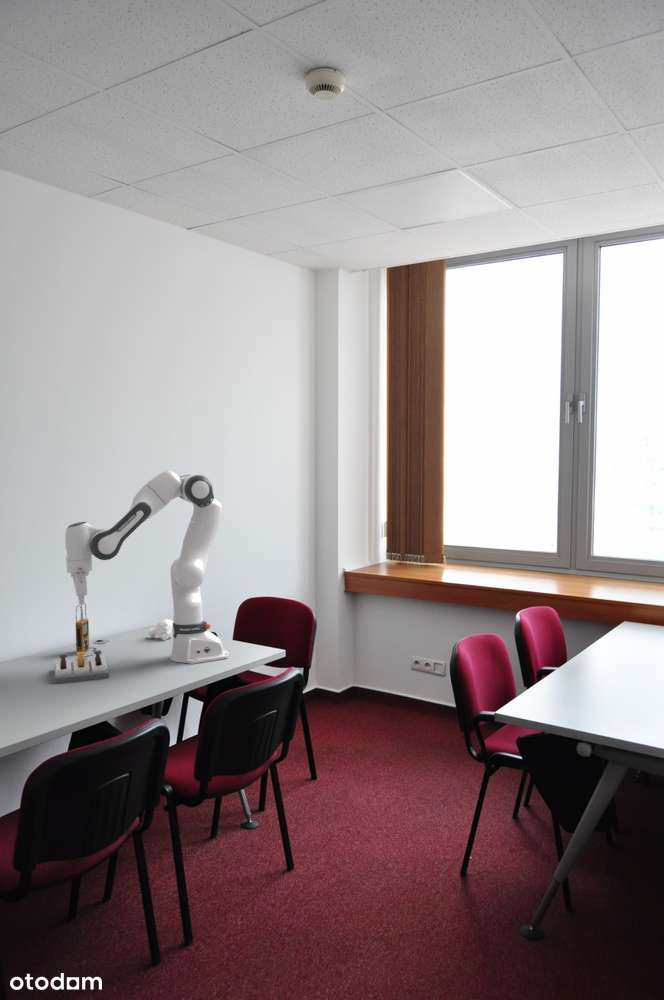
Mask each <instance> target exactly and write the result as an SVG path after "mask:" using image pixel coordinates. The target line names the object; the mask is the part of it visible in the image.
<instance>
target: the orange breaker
mask: <svg viewBox="0 0 664 1000" xmlns="http://www.w3.org/2000/svg"><path fill="white" fill-rule="evenodd" d="M76 655H77V657H78V658H79V666H83V658H84V656H85V653H84V652H76ZM78 658H77V659H78Z"/></svg>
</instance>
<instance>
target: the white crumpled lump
mask: <svg viewBox="0 0 664 1000" xmlns="http://www.w3.org/2000/svg"><path fill="white" fill-rule="evenodd" d="M173 622H174V620H171V619H168V618H167V619H162V620H160V621H159V622H157V624H156V625H155V626H153V627H151V628H149V629H148V635H149V636H150V637H151V638H152V639H153V638H156V637H160V638H162V639H161V640H162V641H167V639H172V638H173V633H172V626H173ZM163 635H165V636H163Z"/></svg>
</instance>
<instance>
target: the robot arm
mask: <svg viewBox="0 0 664 1000" xmlns="http://www.w3.org/2000/svg"><path fill="white" fill-rule="evenodd" d="M214 496H215V495H214V490H213V485H212V482H211V480H210V479H209V478H208V477H206V476H204V475H201V474H196V473H192V474H185V475H181V476H179V475H178V474H177V473H176V472H175V471H172V470H168V469H167V470H164V471H162V472H160V473H159V474H157V475H155V476H154V477H153V478H152V479H150V480H149V481H148V482H147V483H145V484H144V486H142V487H141V488H140V489H139V490H138V491H137V493H136V494H135V496H134V497H133V499H132V503H131V505H130V508H129V510H128V511H127V512H126V514H125V515H123V517H122V518H120V520H118V521H117V522H116V523H115V524H114V525H113V526H112V527H111V528H109V529H104V528H101V527H100V528H99V527H97V526H94V525H92V524H90V523H88V522H87V521H79V522H75V523H74V522H73V523H72V524H70V525H69V526H68V527H67V528H66V530H65V536H64V538H65V539H64V542H65V543H64V544H65V546H64V547H65V551H66V558H65V559H66V560H65V562H66V573H69V574H70V577H72V580H73V585H74V589H75V594H76V596H77V598H78V605H79V606H81V605H82V606H83V605H85V604H84V603H85V596H87V595H88V586H87V585H88V583H87V577H89V575H90V572H91V571H93V559H92V557H93V556H94V558H96V559H98V560H101V561H109V560H111V559H113V558H115V557H116V556H117V555H118V554H119V552H120V550H121V548H122V545H123V543H124V542H125V540H127V539H128V538H129V537H130V535H131V534H132V533H133V532H134V531H135V530H137V528H138V527H139V526H141V525H142V524H143V523H144V522H146V521H148V519H151V518H152V517H153V516H155V515H157V514H158V513H159V512H161V510H163V509H164V508H165V507H166V506H167V505H168V504H169V503H170V502H171V501H173V500H174V499H176V498H180V499H182V500H184V501H186V502H188V503H190V504H192V505H193V510H192V515H191V516H190V517H191V518H190V520H189V523H188V526H187V528H186V532H185V535H184V537H183V540H182V541H183V542H182V547H181V552H180V556H179V557H178V558H177V559H175V560H174V561H173V563H172V564H171V565H170V583H171V594H172V605H173V608H172V609H173V613H172V614H173V626H172V633H173V635H172V638H173V641H172V647H171V648H172V649H171V655H170V661H173V662H176V663H184V664H191V665H193V664H198V663H199V664H200V663H205V662H212V661H217V660H218V661H219V660H224V658H225V659H228V658H229V657H230V653H229V651H228V650H226V649H225V648H224V647H223V646H224V645H223V643H222V642H223V641H222V640H221V638H219V637H218V636H217V635H215V634H214V633H212V632H211V631H210V630H209V629H211V624H210V623H209V622H206V621H205V620H203V598H202V592H201V585H202V584H203V582H204V580H205V574H206V571H207V566H208V563H209V558H210V553H211V550H212V546H213V543H214V540H215V537H216V535H217V532H218V529H219V526H220V522H221V518H222V513H223V505H222V503H221V502H220V501H219V500H217V499H216V498H215V497H214Z"/></svg>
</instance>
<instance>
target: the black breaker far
mask: <svg viewBox="0 0 664 1000" xmlns="http://www.w3.org/2000/svg"><path fill="white" fill-rule="evenodd" d="M66 658H67V653H59V659H60V660H61V668H64V667H65V660H66Z"/></svg>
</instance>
